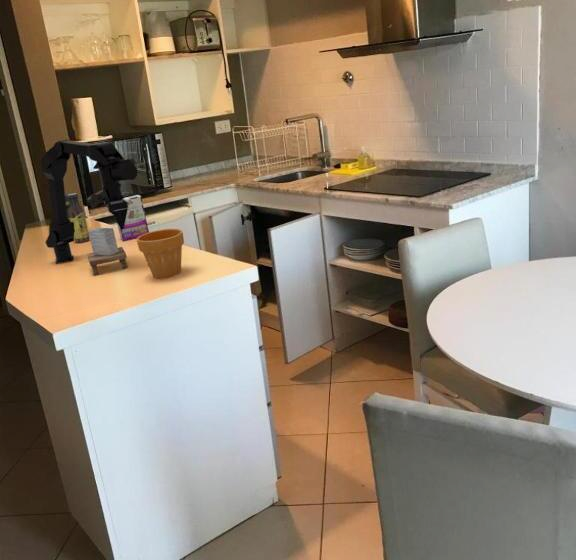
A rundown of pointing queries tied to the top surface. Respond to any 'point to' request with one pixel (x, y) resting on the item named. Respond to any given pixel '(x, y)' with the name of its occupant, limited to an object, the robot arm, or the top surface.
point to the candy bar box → (134, 219)
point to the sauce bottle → (77, 219)
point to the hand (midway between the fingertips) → (120, 226)
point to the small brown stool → (107, 259)
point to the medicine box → (103, 241)
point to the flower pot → (162, 251)
